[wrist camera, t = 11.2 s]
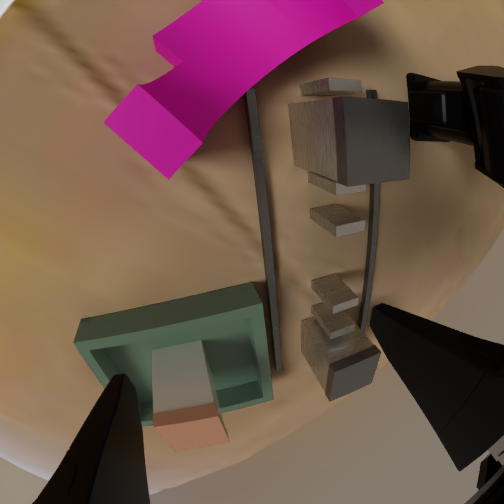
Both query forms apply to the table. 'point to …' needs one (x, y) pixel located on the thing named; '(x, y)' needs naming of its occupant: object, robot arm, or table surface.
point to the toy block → (218, 68)
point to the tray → (180, 332)
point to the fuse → (186, 398)
